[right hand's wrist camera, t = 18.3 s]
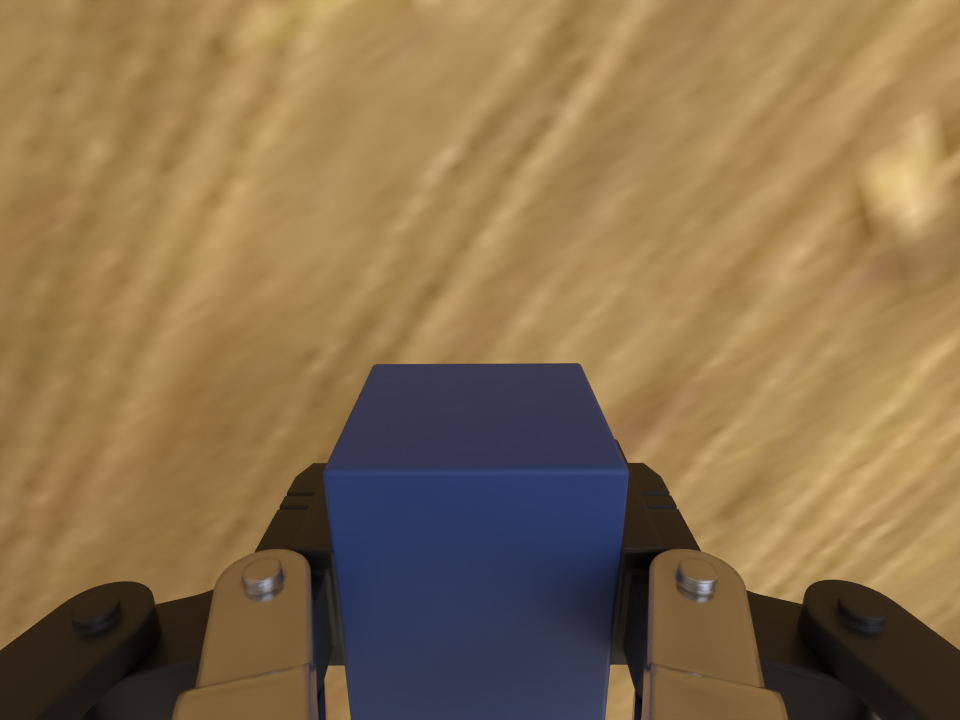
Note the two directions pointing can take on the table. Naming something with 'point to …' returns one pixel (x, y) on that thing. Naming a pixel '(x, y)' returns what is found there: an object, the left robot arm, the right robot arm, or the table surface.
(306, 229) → the table surface
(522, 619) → the brick
